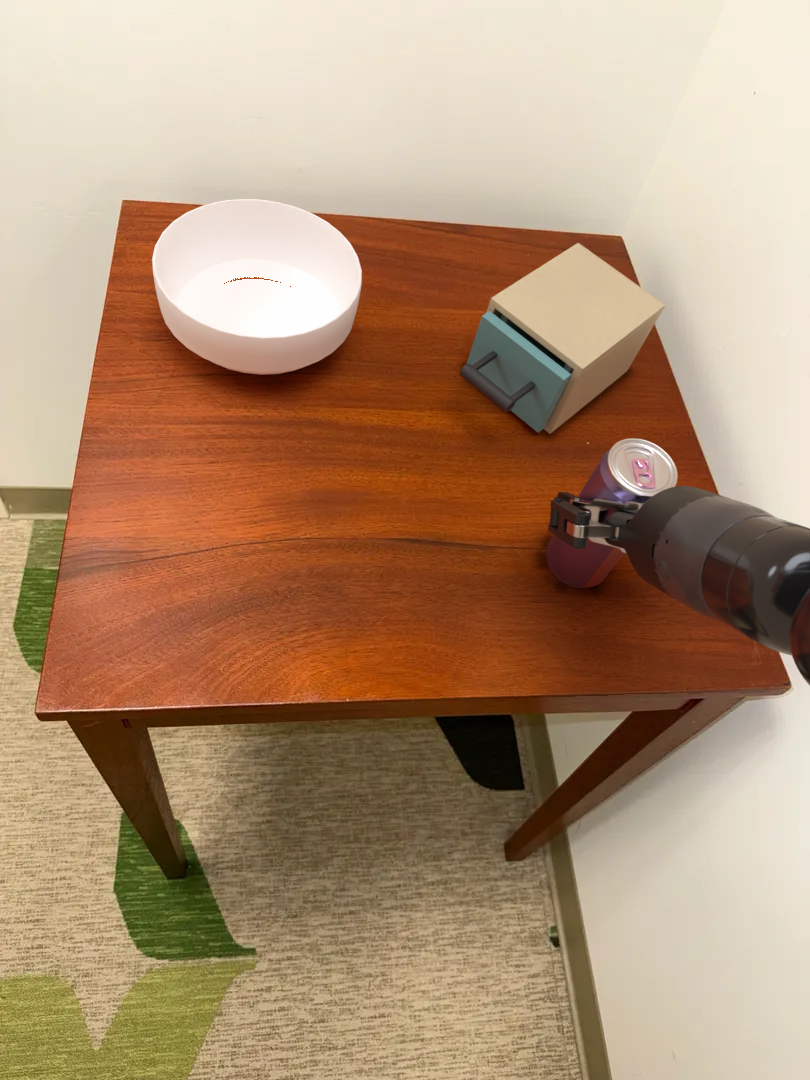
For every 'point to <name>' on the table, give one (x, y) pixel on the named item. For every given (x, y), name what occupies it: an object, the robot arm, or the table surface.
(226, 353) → the bowl
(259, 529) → the table surface
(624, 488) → the beverage can
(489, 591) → the table surface
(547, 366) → the drawer
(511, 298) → the beige box
